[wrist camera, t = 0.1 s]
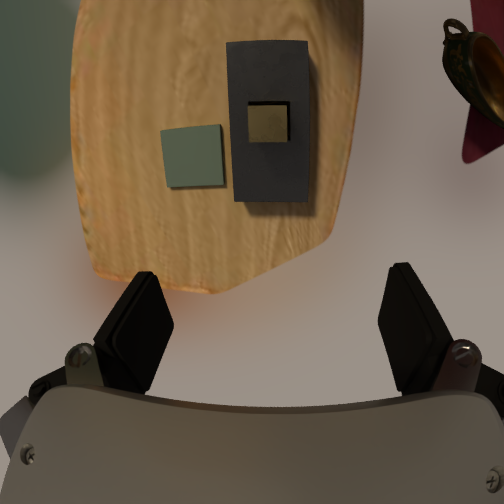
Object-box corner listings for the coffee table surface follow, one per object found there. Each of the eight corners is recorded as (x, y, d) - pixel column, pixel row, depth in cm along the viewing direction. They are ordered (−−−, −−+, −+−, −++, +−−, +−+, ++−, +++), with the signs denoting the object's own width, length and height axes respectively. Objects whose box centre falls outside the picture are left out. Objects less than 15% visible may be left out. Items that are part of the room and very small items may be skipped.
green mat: (162, 130, 36) (160, 130, 36) (220, 124, 35) (219, 124, 35) (169, 185, 41) (167, 187, 40) (224, 183, 40) (223, 184, 39)
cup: (464, 18, 19) (500, 11, 10) (505, 121, 27) (541, 134, 18) (415, 29, 23) (449, 17, 15) (464, 142, 31) (501, 158, 23)
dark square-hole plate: (231, 48, 29) (226, 42, 26) (304, 47, 28) (307, 40, 25) (238, 192, 41) (234, 201, 37) (305, 193, 40) (307, 202, 36)
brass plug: (255, 105, 34) (247, 105, 25) (284, 105, 33) (286, 105, 25) (256, 132, 36) (249, 142, 27) (285, 132, 35) (287, 142, 27)
